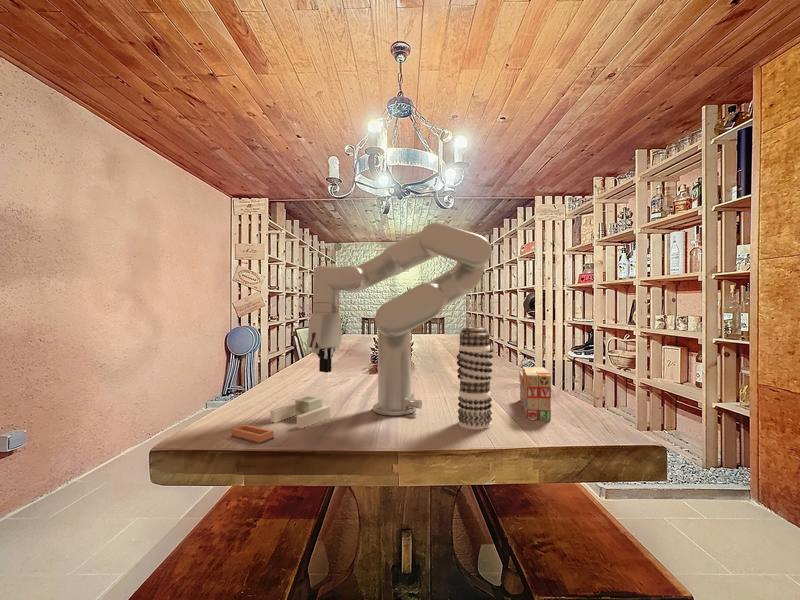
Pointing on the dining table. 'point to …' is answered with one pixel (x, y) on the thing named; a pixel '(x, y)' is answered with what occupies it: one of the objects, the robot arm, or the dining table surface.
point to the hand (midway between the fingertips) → (325, 371)
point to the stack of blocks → (536, 392)
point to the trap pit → (252, 434)
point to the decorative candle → (474, 378)
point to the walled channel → (302, 419)
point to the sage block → (307, 405)
